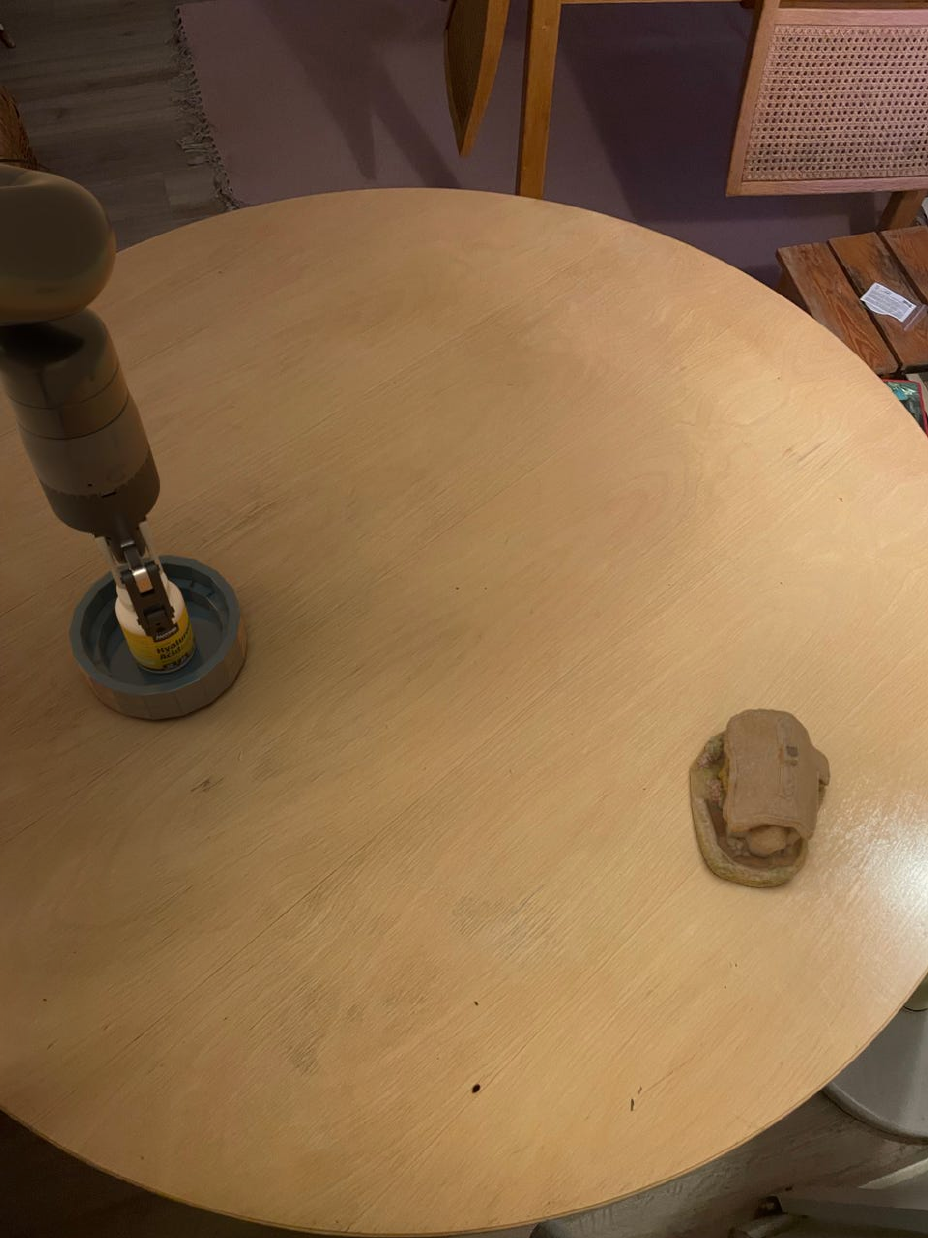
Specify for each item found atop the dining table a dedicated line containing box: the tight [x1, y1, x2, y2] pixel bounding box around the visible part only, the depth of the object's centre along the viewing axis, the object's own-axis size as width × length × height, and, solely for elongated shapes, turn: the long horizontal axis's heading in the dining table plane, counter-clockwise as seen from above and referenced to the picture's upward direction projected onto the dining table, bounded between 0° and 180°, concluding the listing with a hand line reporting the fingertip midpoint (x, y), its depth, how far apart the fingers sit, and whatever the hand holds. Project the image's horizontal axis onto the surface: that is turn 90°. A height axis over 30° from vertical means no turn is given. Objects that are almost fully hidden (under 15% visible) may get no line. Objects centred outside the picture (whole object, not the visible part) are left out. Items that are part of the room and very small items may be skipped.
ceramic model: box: [689, 708, 832, 888], centre depth 81 cm, size 14×11×10 cm
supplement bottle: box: [115, 569, 196, 674], centre depth 86 cm, size 5×5×10 cm
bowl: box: [68, 554, 248, 720], centre depth 89 cm, size 14×14×5 cm
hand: (142, 589), depth 82 cm, fingers open, 8 cm apart
